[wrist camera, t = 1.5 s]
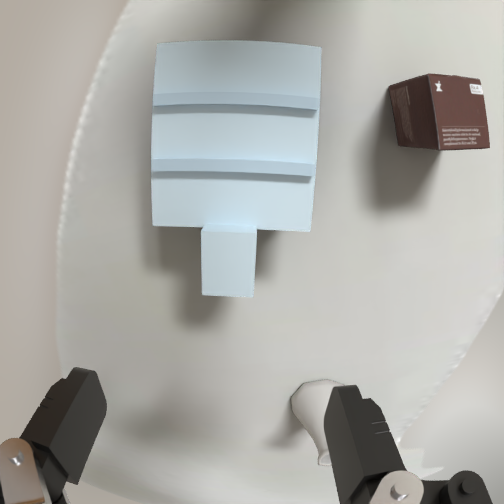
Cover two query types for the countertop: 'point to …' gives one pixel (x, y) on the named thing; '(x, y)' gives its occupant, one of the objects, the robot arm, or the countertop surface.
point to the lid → (234, 148)
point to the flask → (314, 413)
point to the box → (440, 112)
